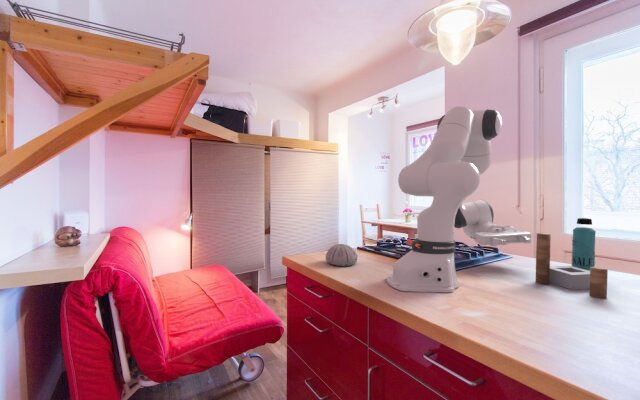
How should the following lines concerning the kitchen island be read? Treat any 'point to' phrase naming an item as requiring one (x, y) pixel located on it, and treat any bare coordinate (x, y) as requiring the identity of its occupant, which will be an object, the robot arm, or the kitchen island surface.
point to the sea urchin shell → (341, 255)
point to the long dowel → (543, 258)
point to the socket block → (570, 277)
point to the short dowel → (598, 282)
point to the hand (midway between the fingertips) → (516, 242)
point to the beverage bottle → (583, 245)
